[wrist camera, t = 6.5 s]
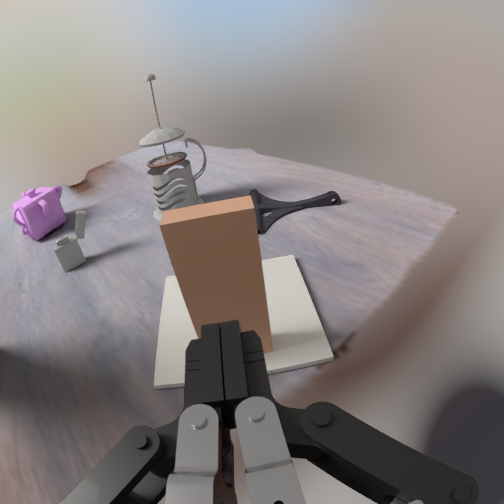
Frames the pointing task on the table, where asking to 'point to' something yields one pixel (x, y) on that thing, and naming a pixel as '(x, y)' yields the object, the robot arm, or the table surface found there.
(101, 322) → the table surface
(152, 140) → the french press
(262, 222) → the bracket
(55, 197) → the teapot
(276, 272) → the mat
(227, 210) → the tile
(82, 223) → the lighter
